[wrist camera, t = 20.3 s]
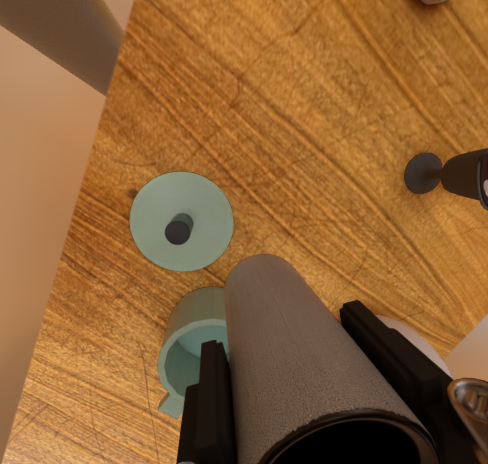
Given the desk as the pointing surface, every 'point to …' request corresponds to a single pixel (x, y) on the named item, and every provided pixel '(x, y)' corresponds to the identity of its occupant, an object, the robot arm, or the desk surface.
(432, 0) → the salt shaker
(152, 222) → the lid
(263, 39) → the desk surface
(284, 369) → the grey tube
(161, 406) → the pot
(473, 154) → the sundae
